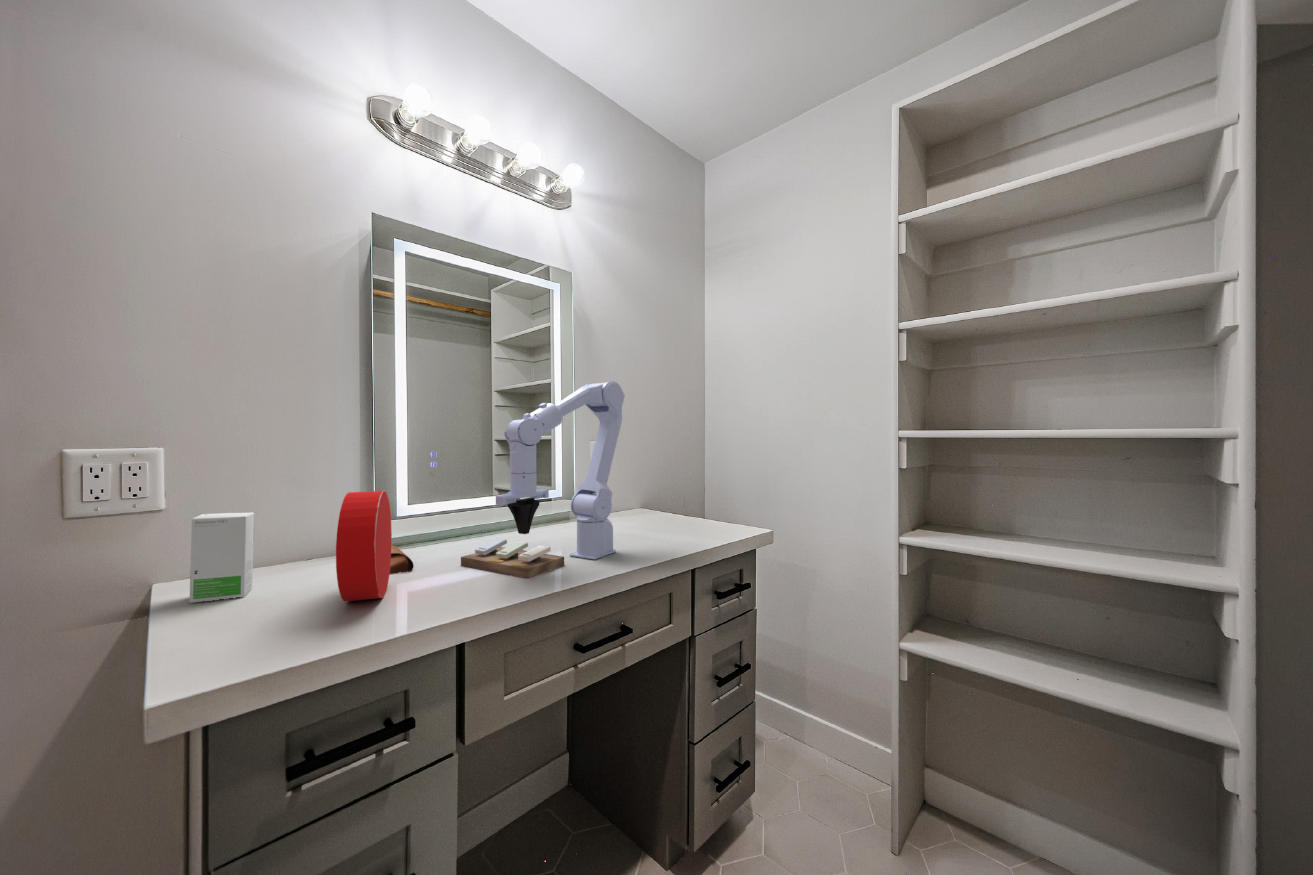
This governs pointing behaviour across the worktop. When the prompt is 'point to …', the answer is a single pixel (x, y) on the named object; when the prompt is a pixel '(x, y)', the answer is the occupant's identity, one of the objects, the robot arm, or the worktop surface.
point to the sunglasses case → (399, 561)
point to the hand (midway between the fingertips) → (523, 533)
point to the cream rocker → (534, 553)
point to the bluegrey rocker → (490, 546)
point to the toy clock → (363, 545)
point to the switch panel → (512, 563)
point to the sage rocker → (512, 549)
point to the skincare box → (221, 556)
